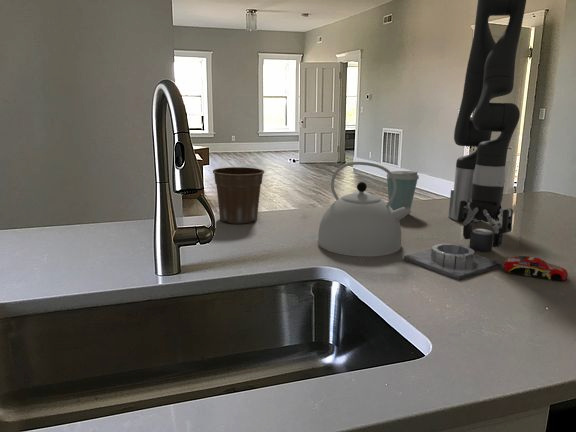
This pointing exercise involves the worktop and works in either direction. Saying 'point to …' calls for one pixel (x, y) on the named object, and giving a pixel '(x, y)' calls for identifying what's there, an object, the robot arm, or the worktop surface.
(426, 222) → the worktop surface
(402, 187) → the disposable coffee cup
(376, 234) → the kettle
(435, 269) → the square plate with hole
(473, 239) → the cylindrical peg
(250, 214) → the plant pot
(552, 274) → the race car
